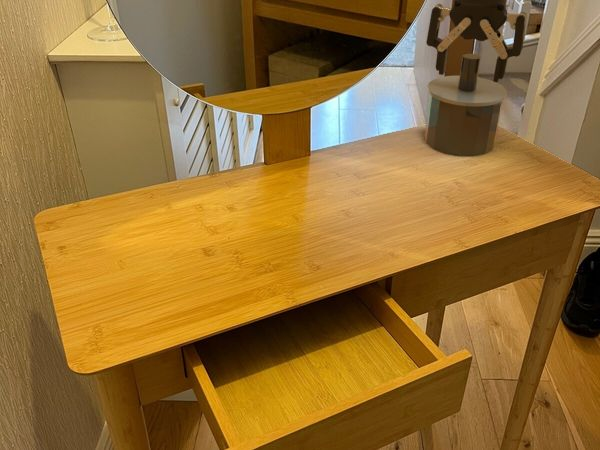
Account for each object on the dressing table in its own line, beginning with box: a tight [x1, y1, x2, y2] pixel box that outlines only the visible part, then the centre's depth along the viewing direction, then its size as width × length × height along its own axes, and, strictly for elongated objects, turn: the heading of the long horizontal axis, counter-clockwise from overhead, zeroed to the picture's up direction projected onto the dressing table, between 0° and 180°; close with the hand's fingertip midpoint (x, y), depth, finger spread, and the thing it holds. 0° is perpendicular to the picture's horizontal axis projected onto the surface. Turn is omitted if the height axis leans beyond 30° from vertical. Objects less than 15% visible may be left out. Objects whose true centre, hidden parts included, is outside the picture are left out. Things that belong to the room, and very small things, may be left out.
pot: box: [423, 93, 504, 157], centre depth 103 cm, size 11×11×10 cm
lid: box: [426, 53, 508, 106], centre depth 99 cm, size 12×12×6 cm
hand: (469, 77), depth 99 cm, fingers open, 8 cm apart
